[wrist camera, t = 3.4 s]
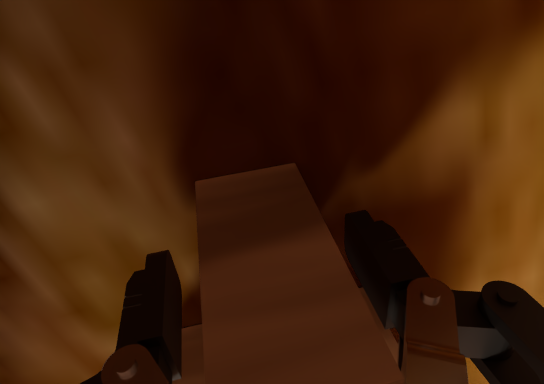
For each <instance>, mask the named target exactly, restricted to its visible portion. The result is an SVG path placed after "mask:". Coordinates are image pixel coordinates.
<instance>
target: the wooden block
mask: <svg viewBox="0 0 544 384" xmlns="http://www.w3.org/2000/svg"><path fill="white" fill-rule="evenodd" d="M195 193H196V213H197V233H198V253H199V273H200V293H201V313H202V332H203V352H204V372H205V384H404V377H403V375H402V373H401V371H400V369H399V367H398V365H397V363H396V361H395V359H394V357H393V355H392V353H391V351H390V349H389V347H388V345H387V343H386V342H385V340H384V338H383V336H382V334H381V332H380V330H379V328H378V326H377V324H376V322H375V320H374V318H373V316H372V314H371V312H370V310H369V308H368V306H367V304H366V302H365V300H364V298H363V296H362V294H361V292H360V290H359V288H358V286H357V284H356V282H355V280H354V278H353V276H352V274H351V273H350V271H349V269H348V267H347V265H346V263H345V261H344V259H343V257H342V255H341V253H340V251H339V249H338V247H337V245H336V243H335V241H334V239H333V237H332V235H331V233H330V231H329V229H328V227H327V225H326V223H325V221H324V219H323V217H322V215H321V213H320V211H319V209H318V207H317V205H316V204H315V202H314V200H313V198H312V196H311V194H310V192H309V190H308V188H307V186H306V184H305V182H304V180H303V178H302V176H301V174H300V172H299V170H298V168H297V166H296V164H295V163H290V164H285V165H280V166H274V167H269V168H264V169H258V170H253V171H247V172H242V173H237V174H231V175H226V176H221V177H215V178H210V179H204V180H199V181H195Z"/></svg>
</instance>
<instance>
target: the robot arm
mask: <svg viewBox="0 0 544 384" xmlns="http://www.w3.org/2000/svg"><path fill="white" fill-rule="evenodd" d="M344 245H345V251H346V255H347V257H348V260H349V262H350V264H351V265H352V267H353V269H354V271H355V273H356V275H357V277H358V279H359V281H360V283H361V285H362V286H363V288H364V290H365V292H366V294H367V296H368V298H369V300H370V302H371V304H372V305H373V307H374V309H375V311H376V313H377V315H378V317H379V319H380V321H381V323H382V325H383V326H384V328H385V330H386V329H390V328H394V327H395V328H396V330H397V331H398V333H399V340H398V359H397V365H398V367H399V369H400V371H401V373H402V375H403V377H404V384H468V375H467V365H466V359H465V357H467V358H470V359H471V360H472V362H473V363H474V364H475V365H476V367H477V368H478V369H479V371H480V372H481V373H482V374H483V376H484V377H485V378H486V379H487V381H488V382H489V383H490V384H544V307H542V306H541V305H540V304H539V303H538V302H537V301H536V300H535V299H534V298H532V297H531V296H530V295H529V294H528V293H527V292H526V291H525V290H523V289H522V288H520V287H519V286H517V285H515V284H512V283H509V282H505V281H491V282H488V283H487V284H485V285H484V286H483V288H482V290H481V292H473V291H457V290H451V289H450V288H449V287H448V286H447V285H446V284H445V283H443V282H441V281H439V280H437V279H434V278H430V277H429V275H428V274H427V273H426V271H425V270H424V269H423V267H422V266H421V265H420V263H419V262H418V261H417V259H416V258H415V256H414V255H413V254H412V252H411V251H410V250H409V248H408V247H406V244H405V243H404V242H403V240H402V239H401V238H400V236H399V235H398V234H397V232H396V231H395V229H394V228H393V227H391V226H390V225H388V224H387V223H385V222H384V221H382V220H380V221H376V222H374V220H373V219H372V218H371V216H370V215H369V213H368V212H367V211H366V210H362V211H357V212H352V213H348V214H346V215H345V237H344ZM178 379H182V291H181V284H180V280H179V277H178V274H177V271H176V268H175V265H174V262H173V260H172V257H171V254H170V252H169V250H165V251H161V252H156V253H151V254H147V257H146V264H145V270H140V271H135V272H134V273H133V275H132V276H131V278H130V280H129V281H128V283H127V285H126V291H125V299H124V303H123V310H122V315H121V322H120V328H119V334H118V340H117V346H116V350H115V352H114V353H113V354H112V355H111V356H110V357H109V358H108V359H107V361H106V362H105V364H104V366H103V368H102V370H101V371H100V372H99V373H98V374H96V375H95V376H93V377H91V378H89V379H88V380H86V381H84V382H82V383H80V384H172V381H174V380H178Z"/></svg>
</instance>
